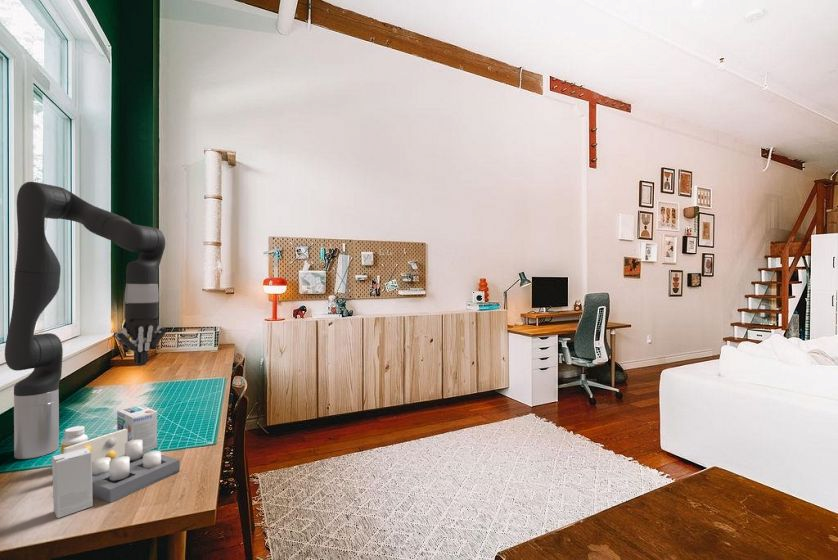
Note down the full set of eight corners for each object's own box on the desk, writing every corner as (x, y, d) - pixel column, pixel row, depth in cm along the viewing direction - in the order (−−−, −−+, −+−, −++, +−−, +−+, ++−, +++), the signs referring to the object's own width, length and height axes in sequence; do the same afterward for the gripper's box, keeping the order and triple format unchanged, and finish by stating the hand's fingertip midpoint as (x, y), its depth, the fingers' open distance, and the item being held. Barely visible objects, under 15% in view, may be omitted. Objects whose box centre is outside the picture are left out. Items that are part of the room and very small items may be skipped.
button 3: (121, 459, 105) (121, 443, 105) (136, 453, 108) (136, 438, 108) (130, 461, 103) (130, 446, 103) (145, 455, 106) (145, 441, 106)
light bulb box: (116, 447, 119) (116, 410, 119) (142, 439, 125) (142, 404, 125) (131, 456, 113) (131, 417, 113) (158, 448, 119) (158, 411, 119)
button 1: (87, 478, 98) (87, 462, 98) (105, 471, 101) (105, 456, 101) (96, 482, 96) (96, 465, 96) (114, 474, 100) (114, 459, 100)
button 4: (139, 471, 102) (139, 455, 101) (154, 465, 105) (154, 449, 105) (149, 474, 100) (149, 458, 100) (164, 468, 103) (164, 452, 103)
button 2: (105, 478, 95) (105, 461, 95) (123, 471, 98) (123, 455, 98) (115, 481, 93) (115, 464, 93) (133, 474, 97) (133, 458, 96)
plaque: (63, 480, 100) (63, 448, 100) (125, 457, 112) (125, 428, 112) (66, 481, 99) (66, 449, 99) (128, 458, 112) (128, 429, 112)
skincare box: (88, 500, 91) (88, 446, 91) (93, 507, 88) (93, 451, 88) (51, 512, 87) (51, 455, 86) (55, 520, 84) (55, 461, 84)
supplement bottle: (72, 471, 104) (72, 433, 104) (55, 469, 106) (55, 431, 105) (93, 462, 110) (92, 425, 110) (76, 460, 111) (76, 424, 111)
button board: (70, 487, 97) (70, 474, 97) (140, 459, 111) (140, 448, 111) (110, 503, 90) (110, 489, 90) (179, 471, 105) (179, 459, 104)
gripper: (157, 298, 117) (156, 359, 118) (106, 301, 105) (105, 368, 106) (174, 300, 114) (173, 362, 114) (123, 302, 102) (122, 372, 102)
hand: (140, 365), depth 110 cm, fingers closed
